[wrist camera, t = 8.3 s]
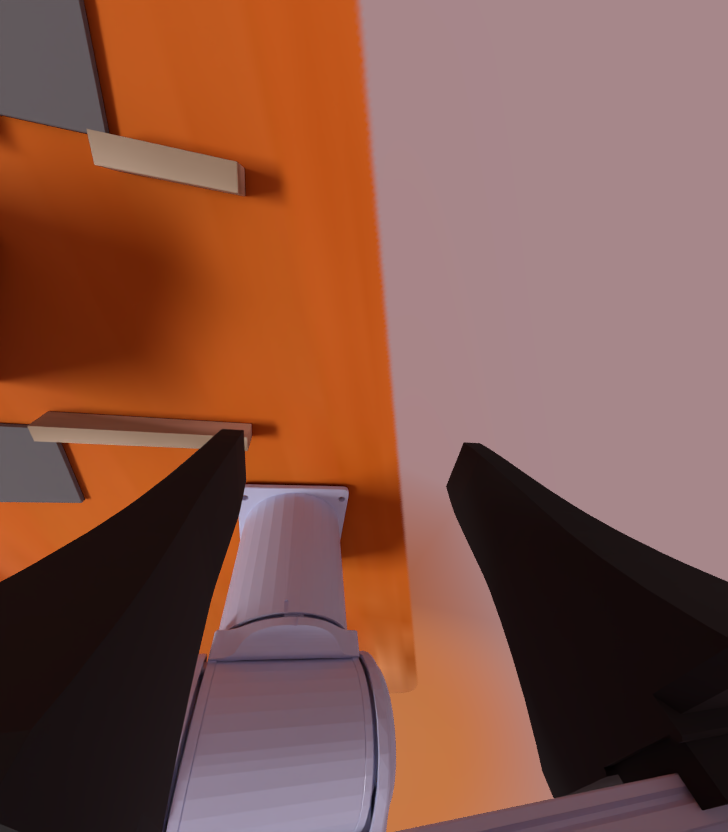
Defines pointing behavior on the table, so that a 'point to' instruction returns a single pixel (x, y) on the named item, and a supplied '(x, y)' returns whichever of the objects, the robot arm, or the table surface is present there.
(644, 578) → the robot arm
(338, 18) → the table surface
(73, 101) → the grey plate
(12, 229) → the table surface
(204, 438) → the channel
